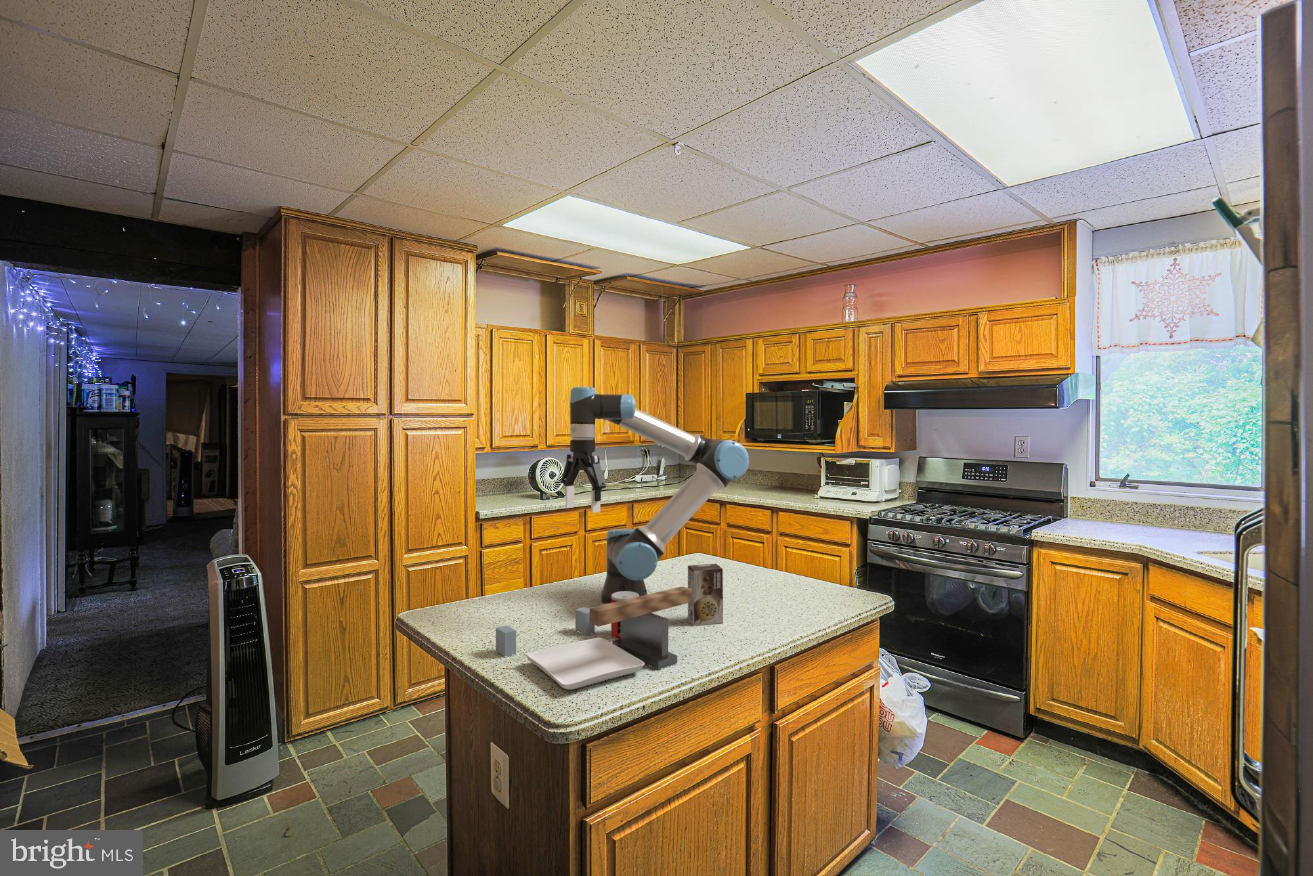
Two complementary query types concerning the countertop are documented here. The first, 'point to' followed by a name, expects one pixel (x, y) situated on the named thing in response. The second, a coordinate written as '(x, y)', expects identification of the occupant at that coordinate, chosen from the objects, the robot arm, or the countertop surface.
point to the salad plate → (584, 662)
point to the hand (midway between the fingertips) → (582, 509)
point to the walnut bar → (639, 606)
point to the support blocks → (508, 634)
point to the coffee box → (705, 594)
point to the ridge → (647, 640)
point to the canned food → (615, 598)
